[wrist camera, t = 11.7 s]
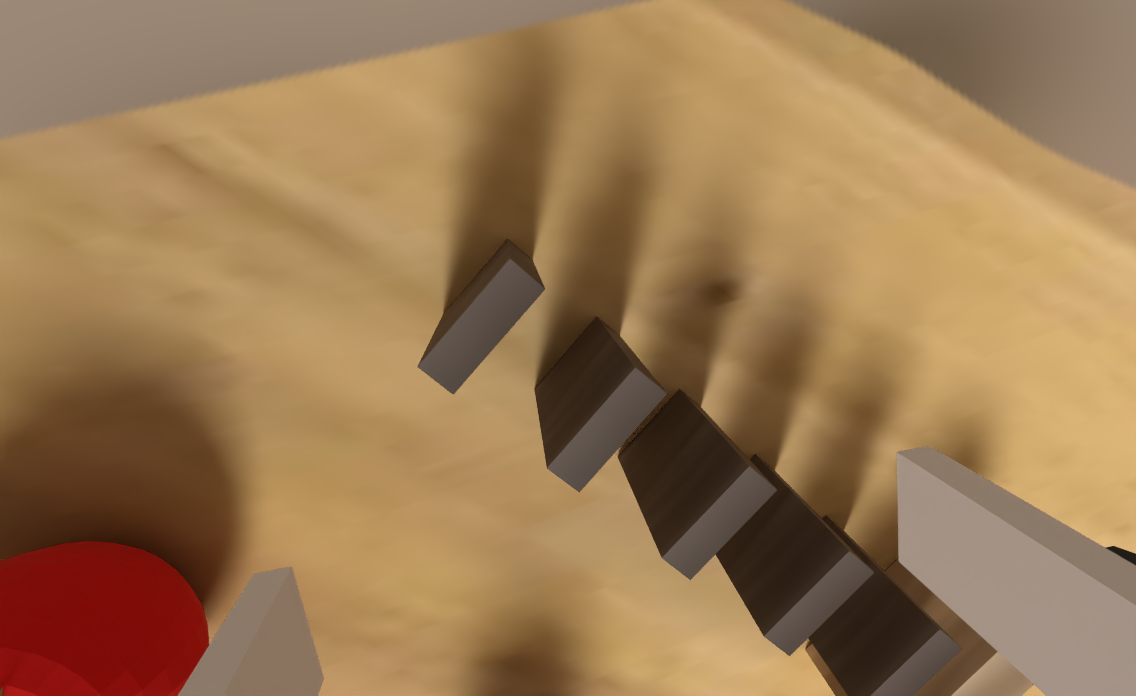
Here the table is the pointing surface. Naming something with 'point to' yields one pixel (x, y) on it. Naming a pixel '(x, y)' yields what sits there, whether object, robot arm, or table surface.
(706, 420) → the domino
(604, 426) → the domino
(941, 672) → the block
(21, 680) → the tomato
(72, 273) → the table surface
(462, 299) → the domino
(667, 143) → the table surface
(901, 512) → the robot arm
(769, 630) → the domino
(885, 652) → the domino
